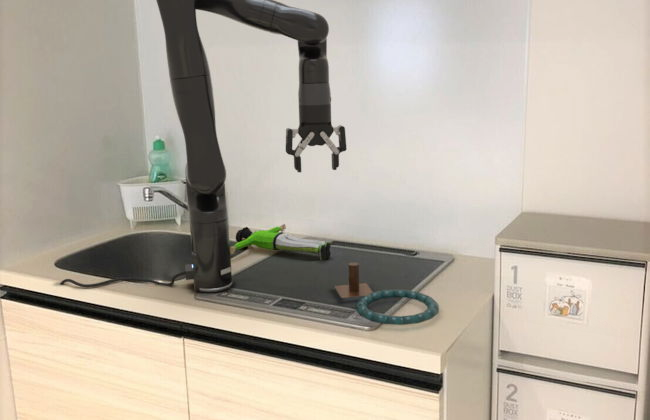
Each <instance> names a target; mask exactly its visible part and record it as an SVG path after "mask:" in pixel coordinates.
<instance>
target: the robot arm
mask: <svg viewBox="0 0 650 420" xmlns="http://www.w3.org/2000/svg"><path fill="white" fill-rule="evenodd" d="M155 1H156V4H157V7H158V11H159V15H160V19H161V23H162V27H163V32H164V39H165V52H166V60H167V69H168V70H167V71H168V76H169V82H170V88H171V89H170V90H171V95H172V99H173V103H174V107H175V110H176V115H177V117H178V121H179V123H180V127H181V129H182V134H183V137H184V142H185V143H184V145H185V155H186V164H185V169H184V172H185V173H184V175H185V187H186V198H187V199H186V200H187V209H188V216H189V218H188V219H189V230H190V231H189V232H190V245H191V259H192V260H191V261H192V263H187V264H185V265H184V271H181V272H178V273H176V274H175V275H173V276H172V277H171V281H170V282H167V283H165V282H161V281H158V280H154V279H149V278H143V277H142V278H141V277H131V276H130V277H129V276H128V277H116V278H112V279H107V280H103V281H100V282H96V283H90V284H89V283H88V284H85V283H81V282H78V281H76V280H73V279H72V278H65V279H63V280H62V281H61V282H60V283H59V285H64V284H65V283H67V282H68V283H71V284H73V285H75V286H78V287H81V288H96V287H99V286H103V285H107V284H111V283H114V282H120V281H135V282H136V281H137V282H142V283H143V282H144V283H151V284H155V285H160V286H165V287H170V286H173V285H174V284H175V280H176V279H177V278H178V277H181V276H183V275H185V280H186V281H192V280H193V289H194V292H195V293H198V292H201V293H219V292H223V291H227V290H228V289H230V288H232V287H233V284H234V283H233V282H234V281H233V273H232V258H231V257H232V256H231V253H230V247H231V241H230V226H229V225H230V224H229V210H228V204H227V197H226V180H227V169H226V165H225V162H224V159H223V156H222V152H221V148H220V143H219V139H218V134H217V124H216V122H217V121H216V105H215V95H214V87H213V82H212V74H211V68H210V65H209V61H208V57H207V54H206V51H205V48H204V47H205V46H204V44H203V42H202V39H201V36H200V31H199V27H198V21H197V11H203V12H208V13H212V14H214V15H219V16H222V17H225V18H228V19H230V20H232V21H235V22H237V23H239V24H242V25H245V26H248V27H251V28H254V29H256V30H260V31H264V32H267V33H270V34H274V35H280V36H283V37H287V38H290V39H292V40H294V41H297V49H298V50H297V51H298V92H297V94H298V95H297V96H298V98H297V99H298V120H299V121H298V128H290V127H287V128H286V129H285V152H286V154H287V155H289V156H293V167H294V170H295V171H297V173H302V157H301V155H302V153H303V151H304V150H305V149H306V148H307V146H309V147H315V146H321V147H322V146H324V145H325V146H327V147H328V148H329V150H330V151H331V152H332V153H331V169H332V170H333V171H337V168H339V166H340V154H341V153H342V152H346V151H347V138H346V137H347V136H346V128H345V126H344V125H341V124H339V125H338V126H333V124H332V96H331V95H332V94H331V92H332V91H331V87H330V65H329V60H328V56H327V55H328V50H327V49H328V44H327V43H328V36H329V32H330V25H329V22H328V21H327V19H326V18H325V16H323V15H321V14H320V13H317V12H314V11H311V10H306V9H302V8H299V7H293V6H290V5H287V4H286V3H283V2H280V1H278V0H155ZM196 10H197V11H196ZM333 133H334V134H335V135H336V136H338V146H337V147H336V145H335V143H334V142H333V141H332V140H331V139H330V138H331V136H332V135H333ZM297 134H298V136H299V137H300V138H301V139H300V141H299V142H298V143H297V146H296V147H295V148H294V149H293V141H294V140H293V139H294V138H296V136H297Z"/></svg>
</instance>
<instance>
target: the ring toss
mask: <svg viewBox="0 0 650 420" xmlns="http://www.w3.org/2000/svg"><path fill="white" fill-rule="evenodd" d="M333 287H334V289H335V291H336V292H337V294H338V295H339V297H340V298H341V299H347V298H356V297H364V296H366V295H367V294H370V293H374V292H375V291H373V290H372V288H370V285H368V284H367V282H362V283H361V282H360V263H358V262H355V261H352V262H349V263H348V284H342V285H341V284H340V285H334V286H333Z"/></svg>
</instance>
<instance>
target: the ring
mask: <svg viewBox="0 0 650 420" xmlns="http://www.w3.org/2000/svg"><path fill="white" fill-rule="evenodd" d="M373 292H374V293H370V294H367V295H366V296H362V297H361V298H359V299H358V301H357V303H356V306H355V310H356V312H357V313H358V315H359V316H360V317H362V318H363V319H366V320H368V321H371V322H375V323H380V324H384V325H399V326H405V325H413V324H419V323H423V322H426V321H429V320H431V319H433V318H434V317H436V315H438V314H439V310H440V309H439V308H440V306H439V304H438V302H437V301H436V300H435V299H434V298H433V297H431V296H429V295H428V294H425V293H423V292H420V291H415V290H409V289H384V290H378V291H373ZM387 298H406V299H411V300H415V301H418V302H421V303H423V304H424V305H425V306H426V308H427V309H426V310H424V311H422V312H418V313H416V314H409V315H387V314H382V313H377V312H374V311H373V310H371V309H369V308H368V307H369V305H370V304H371V303H373V302H375V301H377V300H381V299H387Z"/></svg>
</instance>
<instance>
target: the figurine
mask: <svg viewBox="0 0 650 420" xmlns="http://www.w3.org/2000/svg"><path fill="white" fill-rule="evenodd" d="M286 229H287V225H286V224H285V223H284V224H281V225H280V226H274V227H272V228H269V229H266V230H262V229H261V230H255V231H254V232H253V231H252V230H251V228H249V227H248V226H246V227H242V228H241V229H238V230H237V232H236V233H235V241H236V242H237V243H235V244H234V245H232V246H231V245H230V255H233V254H235V253H236V250H241V249H245V248H248V247H251V246H255V247H257V248H259V249H264V250H268V251H269V250H270V251H277V252H280V251H285V252H286V251H287V252H297V253H301V252H302V253H309V254H314V255H318V257H319V260H320V261H321V262H323V261H325V260H329V259H330V257H331V253H332V252H331V244H330V243H329V242H326V241H323V240H316V239H308V238H300V237H295V236H293V235H290V234H289V233H285V231H286Z"/></svg>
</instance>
